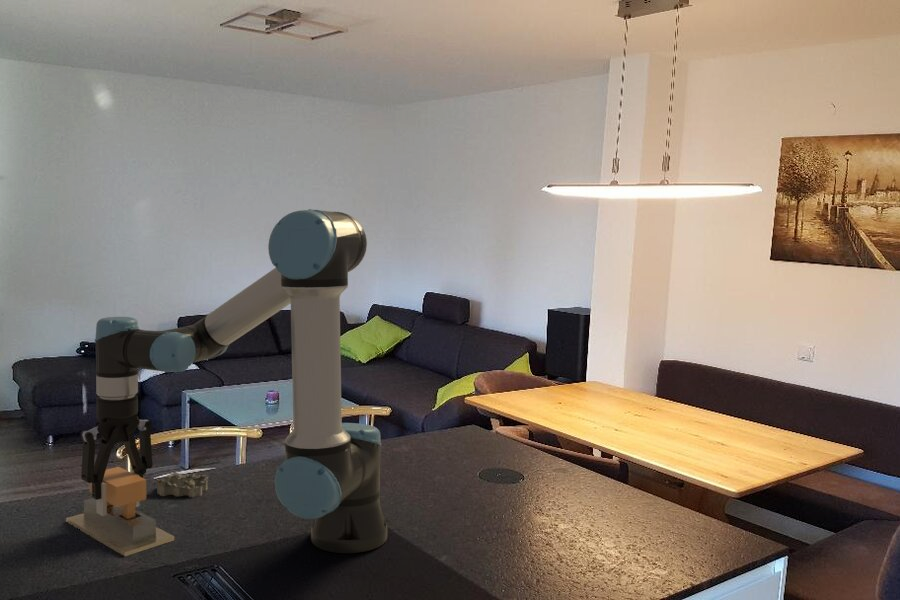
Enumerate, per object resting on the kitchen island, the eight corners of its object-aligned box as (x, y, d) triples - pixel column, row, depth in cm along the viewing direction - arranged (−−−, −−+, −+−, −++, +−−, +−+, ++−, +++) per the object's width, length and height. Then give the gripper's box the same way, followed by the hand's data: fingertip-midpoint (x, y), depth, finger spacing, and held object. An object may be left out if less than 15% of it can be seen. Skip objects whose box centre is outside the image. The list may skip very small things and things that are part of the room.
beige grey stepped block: (174, 540, 146) (174, 518, 145) (124, 556, 138) (124, 534, 138) (113, 508, 161) (113, 489, 160) (66, 521, 153) (65, 501, 153)
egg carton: (152, 496, 169) (152, 479, 169) (168, 485, 177) (168, 468, 176) (198, 499, 168) (197, 482, 168) (211, 488, 176) (211, 471, 175)
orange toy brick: (146, 513, 148) (146, 479, 147) (116, 522, 143) (116, 487, 143) (118, 499, 155) (118, 466, 154) (89, 507, 150) (89, 473, 150)
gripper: (152, 385, 157) (153, 492, 159) (58, 399, 142) (60, 517, 144) (172, 391, 152) (172, 501, 154) (77, 406, 137) (78, 528, 139)
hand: (118, 509), depth 149 cm, fingers closed on orange toy brick, 6 cm apart
